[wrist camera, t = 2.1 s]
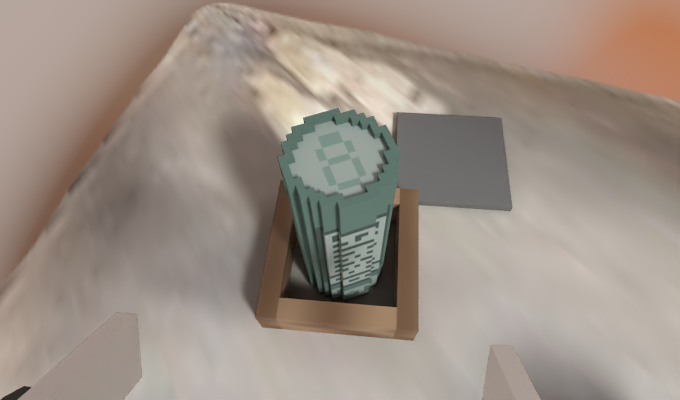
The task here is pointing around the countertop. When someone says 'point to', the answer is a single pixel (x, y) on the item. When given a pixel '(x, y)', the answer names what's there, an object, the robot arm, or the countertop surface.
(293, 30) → the countertop surface
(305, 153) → the can
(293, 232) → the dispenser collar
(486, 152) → the mat
